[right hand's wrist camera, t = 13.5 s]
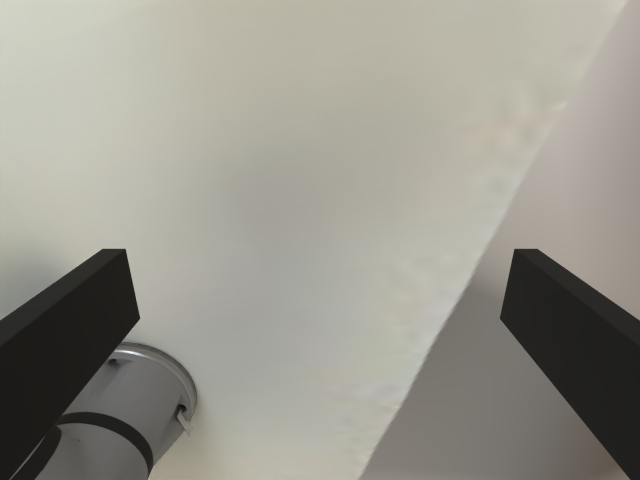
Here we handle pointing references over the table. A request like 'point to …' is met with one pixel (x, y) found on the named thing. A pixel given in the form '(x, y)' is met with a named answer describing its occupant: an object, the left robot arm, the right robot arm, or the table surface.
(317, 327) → the table surface
